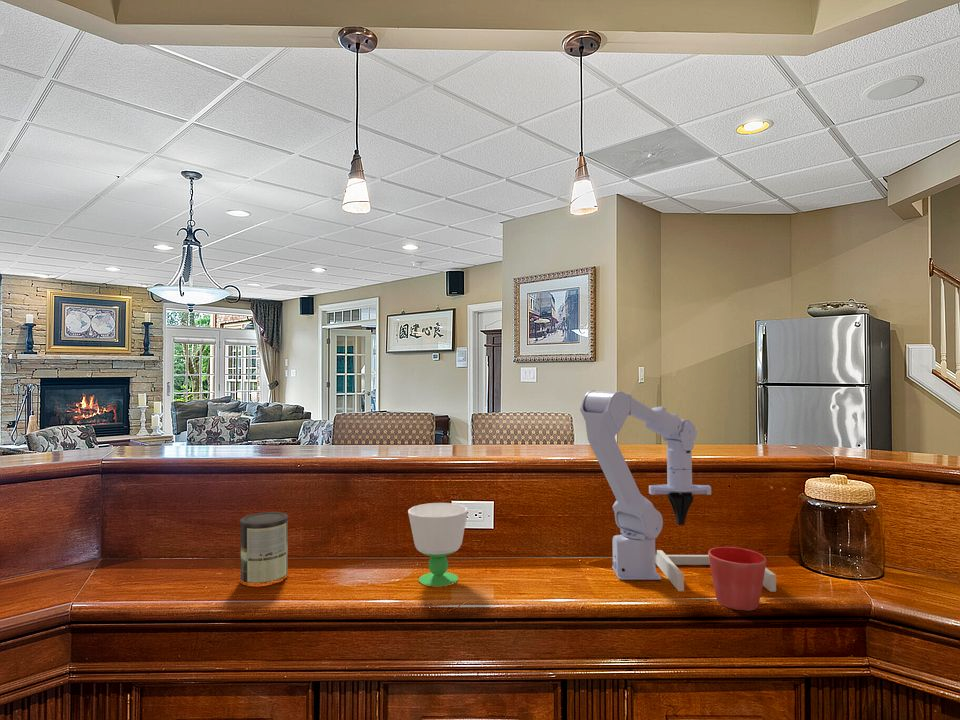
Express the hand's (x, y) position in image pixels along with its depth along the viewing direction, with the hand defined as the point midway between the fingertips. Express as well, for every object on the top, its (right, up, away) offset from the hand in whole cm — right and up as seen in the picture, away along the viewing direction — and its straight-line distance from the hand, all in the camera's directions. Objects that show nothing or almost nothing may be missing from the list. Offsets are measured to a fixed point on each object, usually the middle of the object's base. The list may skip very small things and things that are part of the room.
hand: (680, 523), depth 138 cm
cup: (-58, -10, -10) cm, 60 cm away
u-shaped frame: (+4, -9, -10) cm, 14 cm away
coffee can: (-98, -10, -9) cm, 99 cm away
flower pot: (+3, -9, -24) cm, 26 cm away
